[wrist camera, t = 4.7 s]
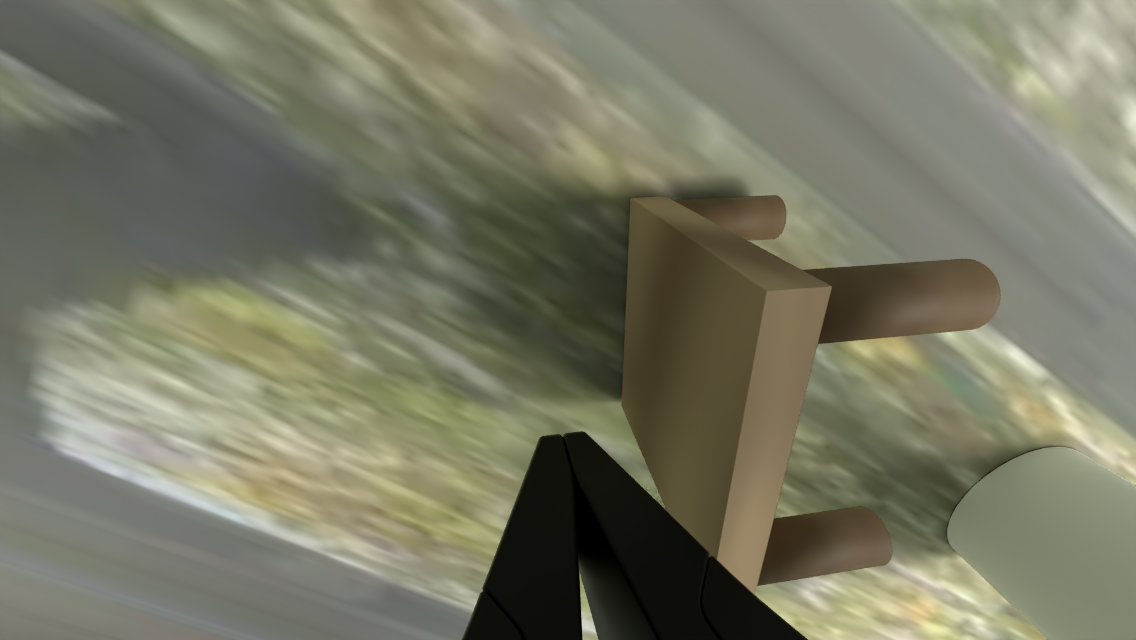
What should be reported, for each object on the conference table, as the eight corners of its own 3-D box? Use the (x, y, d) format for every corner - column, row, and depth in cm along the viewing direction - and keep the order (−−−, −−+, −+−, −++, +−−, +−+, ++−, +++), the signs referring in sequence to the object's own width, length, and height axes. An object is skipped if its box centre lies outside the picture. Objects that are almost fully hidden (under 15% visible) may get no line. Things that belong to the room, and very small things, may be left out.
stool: (1013, 273, 7) (767, 291, 6) (882, 577, 10) (707, 606, 9) (765, 191, 13) (630, 198, 13) (731, 394, 16) (621, 405, 16)
